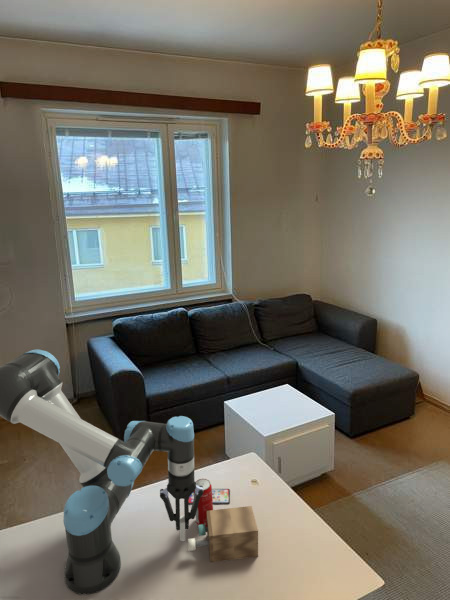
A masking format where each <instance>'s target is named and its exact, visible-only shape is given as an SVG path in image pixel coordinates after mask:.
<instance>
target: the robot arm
mask: <svg viewBox="0 0 450 600" xmlns="http://www.w3.org/2000/svg"><path fill="white" fill-rule="evenodd" d="M60 369H61V367H60V363H59V361H58V359H57V358H56V357H55V356H54V355H53V354H52V353H50V352H49V351H47V350H42V349H33V350H32V349H31V350H29V351H27V352H24V353H22V354H19V356H17V357H15V358H14V359H12V360H10V361H8V362H6V363H5V364H3V365H0V417H1V418H3V420H6V421H8V422H9V423H11V424H13V425H14V424H15V425H16V424H19V423H20V424H22V425H24V426H26V427H28V428H30V429H32V430H34V431H36V432H38V433H39V434H41V435H44V436H45V437H46V438H49V439H51V440H53V441H54V442H56V443H58V444H59V445H60V446H61V447H62V449H63V450H64V452H65V453H66V455H67V456H68V457H69V459H70V460H71V462H72V464H73V465H74V466H75V468H76V469H77V471H78V472H79V473H80V476H79V480H78V481H79V484H81V486H82V487H81V489H80V490H75V491H74V492H73V493H72V494H71V495H70V496H69V497H68V498H67V500H66V502H65V504H64V507H63V526H64V528H65V529H64V531H65V536H66V544H67V552H68V554H67V558H66V562H65V567H64V575H63V576H64V580H65V581H64V582H65V585H66V587H67V588H68V589H69V590H70V591H71V592H73V593H74V594H77V595H78V594H79V595H90V594H94V593H97V592H100V591H103V590H105V589H106V588H107V587H109V586H110V585H111V584H112V583H113V582H114V581H115V580H116V578H117V577H118V576H119V574H120V571H121V568H122V566H121V565H122V562H121V561H122V560H121V555H120V554H121V553H120V552H119V550H118V548H117V547H116V545H115V543H114V541H113V538H112V523H113V521H114V520H115V518H116V516H117V515H118V513H119V512H120V510H121V509H122V506H123V505H124V503H125V501H126V500H127V498H129V496H130V494H131V491H132V489H133V487H134V484H135V480H136V479H137V477H138V476H139V475H140V474H141V473H142V470H143V468H144V467H145V465H146V463H147V462H148V460H149V458H150V456H151V455H152V453H153V452H154V451H156V452H166V453H167V465H168V466H167V470H168V471H167V473H168V474H167V475H168V478H167V479H168V483H167V485H166V487H165V488H160V490H159V498H160V499H161V500H162V501H163V503H164V506H165V510H166V513H167V516H168V519H169V521H170V522H173V521H174V522H175V530H176V531H179V541H180V542H184V541H185V542H186V530H189V528H190V524H189V522H190V520H194V519H196V511H197V508H198V504H199V500H200V497H201V496H202V495H203V493H204V492H203V486H197V485H196V481H195V432H194V429H195V428H194V423H193V420H192V419H191V418H189V417H188V416H183V415H179V416H172V417H171V418H170V419H168V420H167V422H166V423H162V422H153V421H146V420H132V421H130V422H129V423H128V424H127V426H126V429H125V430H124V435H123V440H121V439H119V438H118V437H116V436H114V435H112V434H110V433H108V432H106V431H104V430H102V429H101V428H98V427H96V426H94V425H93V424H92V423H89V422H87V421H86V420H83V419H82V418H81V417H80V415H79V414H78V412H77V411H76V410H75V408H74V407H73V405H72V403H70V401H69V400H68V398H67V396H66V394H65V393H64V392H63V391H62V386H63V381H62V380H61V378H60V377H59V375H60V372H61V371H60ZM194 490H195V496H194V500H193V503H192V505H191V507H190V509H189V506H190V505H189V499H188V497H190V495H191V494H192V493H193V492H194ZM169 494H170V496H171V497H173V498H174V499H175V512H174V510H173V506H172V503H171V500H170V498H169ZM181 500H183V507H184V509H183V510H184V511H183V512H184V513H183V514H184V515H181V508H180V507H181V504H180V503H181Z"/></svg>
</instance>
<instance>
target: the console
mask: <svg viewBox="0 0 450 600" xmlns="http://www.w3.org/2000/svg"><path fill="white" fill-rule="evenodd" d="M207 527H208V532H206V533H207V534H206V536H207V540H209V545H207V546H208V552H209V553H208V554H209V561H210V563H215V562H224V561H225V562H226V561H233V560H240V559H248V558H258V557H259V529H258V525H257V521H256V518H255V513H254V509H253V506H252V505H248V506H239V507H231V508H230V507H229V508H221V509H219V508H218V509H213V510H209V511H207Z"/></svg>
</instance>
